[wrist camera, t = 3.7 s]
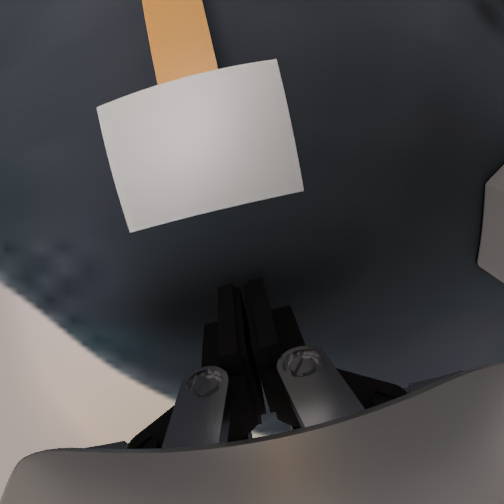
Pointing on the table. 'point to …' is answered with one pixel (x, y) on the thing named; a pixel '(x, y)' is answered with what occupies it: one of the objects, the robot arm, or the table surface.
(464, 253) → the table surface
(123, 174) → the block ended dumbbell
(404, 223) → the table surface
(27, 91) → the table surface
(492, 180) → the jar
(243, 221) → the table surface
